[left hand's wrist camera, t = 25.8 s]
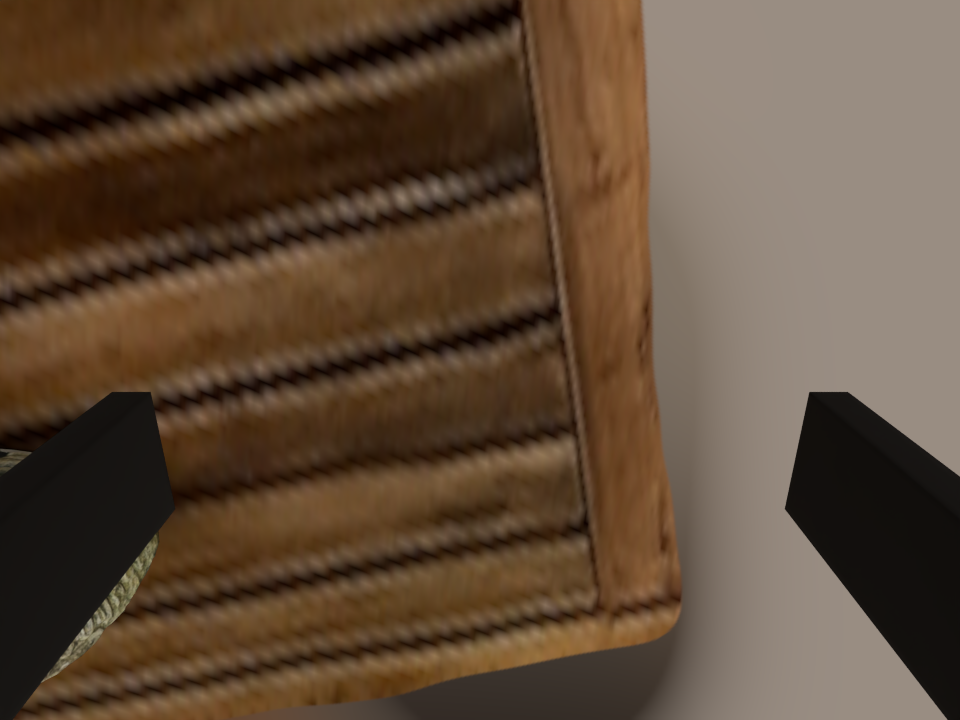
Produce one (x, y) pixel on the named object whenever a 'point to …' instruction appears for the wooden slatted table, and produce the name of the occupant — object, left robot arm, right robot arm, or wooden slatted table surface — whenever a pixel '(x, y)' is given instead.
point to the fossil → (116, 599)
